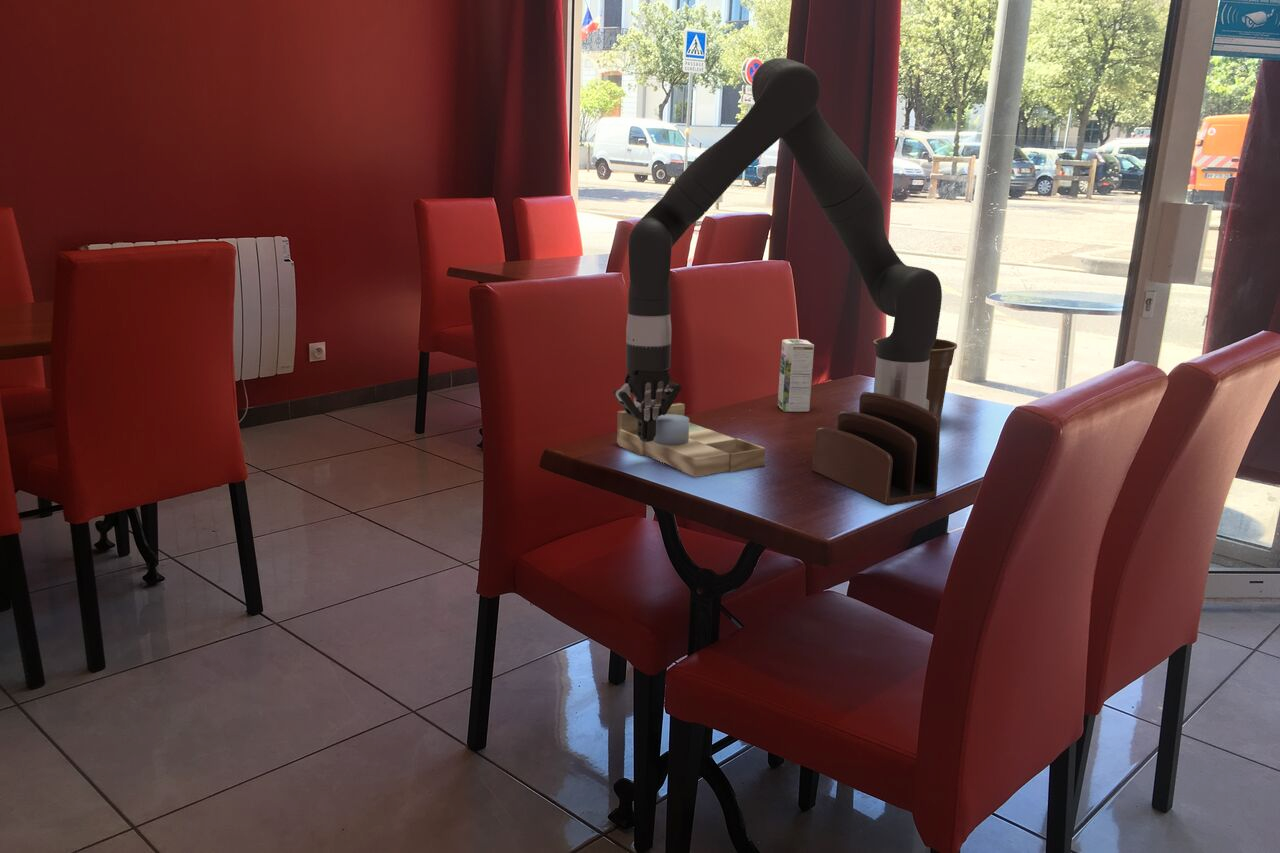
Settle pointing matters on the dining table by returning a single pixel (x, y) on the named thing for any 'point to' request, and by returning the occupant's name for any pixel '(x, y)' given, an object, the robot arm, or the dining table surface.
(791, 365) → the syrup box
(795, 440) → the dining table surface
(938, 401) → the plant pot
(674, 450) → the tray
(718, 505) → the dining table surface
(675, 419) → the grey rounded block
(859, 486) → the letter holder
